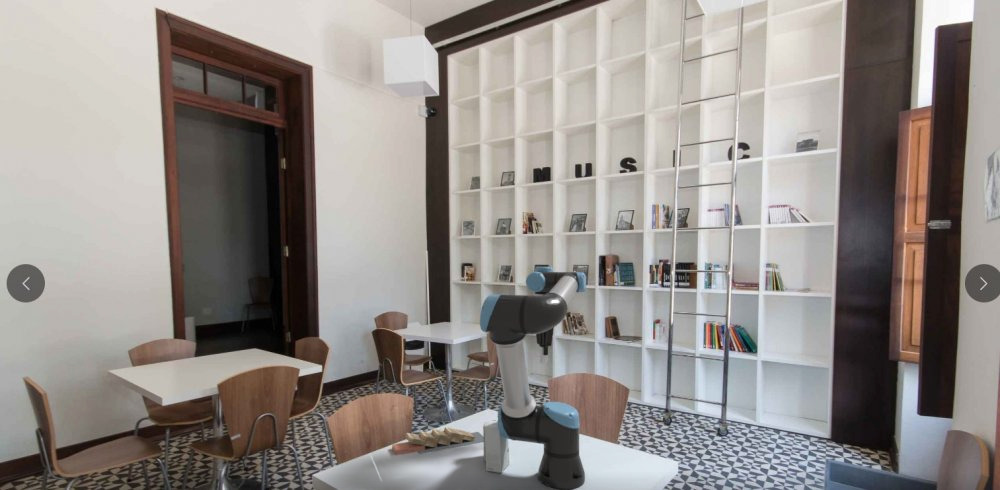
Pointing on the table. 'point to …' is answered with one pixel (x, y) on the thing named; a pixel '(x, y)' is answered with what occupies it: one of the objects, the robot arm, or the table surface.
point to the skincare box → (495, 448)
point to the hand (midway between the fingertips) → (544, 362)
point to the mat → (454, 444)
